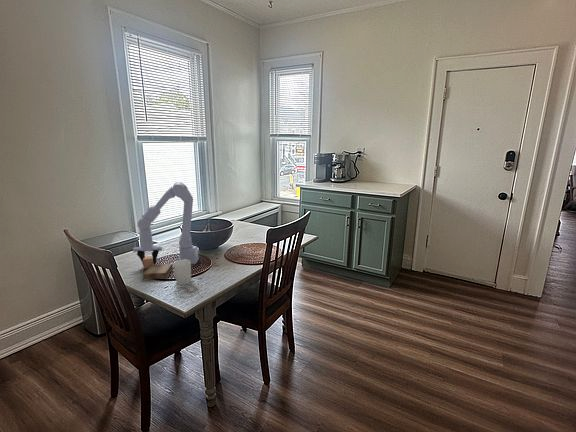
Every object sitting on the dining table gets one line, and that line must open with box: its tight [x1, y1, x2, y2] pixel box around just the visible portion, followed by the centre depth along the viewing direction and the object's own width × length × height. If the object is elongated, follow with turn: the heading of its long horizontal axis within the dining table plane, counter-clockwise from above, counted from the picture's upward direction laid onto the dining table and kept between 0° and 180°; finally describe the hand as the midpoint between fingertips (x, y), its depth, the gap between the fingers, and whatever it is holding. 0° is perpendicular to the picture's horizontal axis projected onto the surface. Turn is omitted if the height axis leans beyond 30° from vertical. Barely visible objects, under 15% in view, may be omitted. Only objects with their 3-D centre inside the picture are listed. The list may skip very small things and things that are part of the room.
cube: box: [142, 255, 157, 269], centre depth 170 cm, size 5×5×5 cm
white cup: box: [172, 259, 192, 286], centre depth 151 cm, size 8×8×10 cm
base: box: [142, 263, 174, 280], centre depth 161 cm, size 11×11×3 cm
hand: (149, 263), depth 171 cm, fingers open, 5 cm apart
